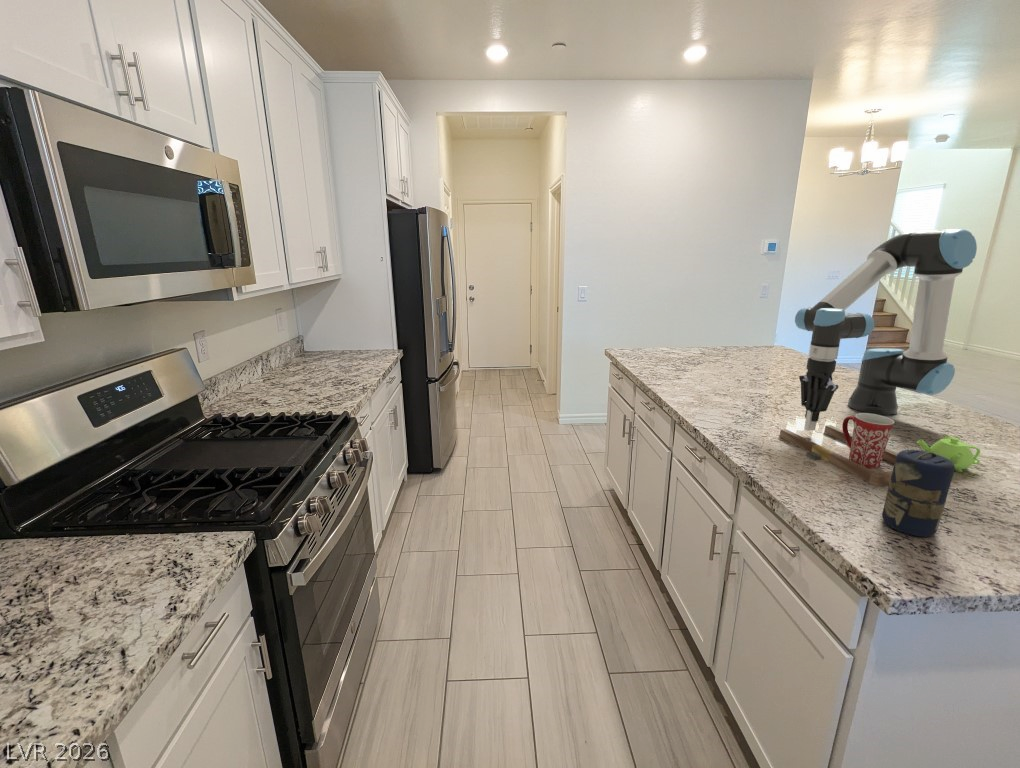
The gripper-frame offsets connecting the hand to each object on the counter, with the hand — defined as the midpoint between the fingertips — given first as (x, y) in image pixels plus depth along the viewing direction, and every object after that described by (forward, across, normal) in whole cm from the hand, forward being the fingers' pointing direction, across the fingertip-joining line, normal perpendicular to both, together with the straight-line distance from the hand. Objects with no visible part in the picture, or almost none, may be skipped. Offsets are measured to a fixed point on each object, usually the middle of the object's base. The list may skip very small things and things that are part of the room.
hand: (809, 429), depth 154 cm
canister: (+2, +49, -21) cm, 54 cm away
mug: (+3, +19, 0) cm, 19 cm away
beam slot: (+2, +15, 0) cm, 15 cm away
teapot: (+3, +27, +20) cm, 33 cm away
